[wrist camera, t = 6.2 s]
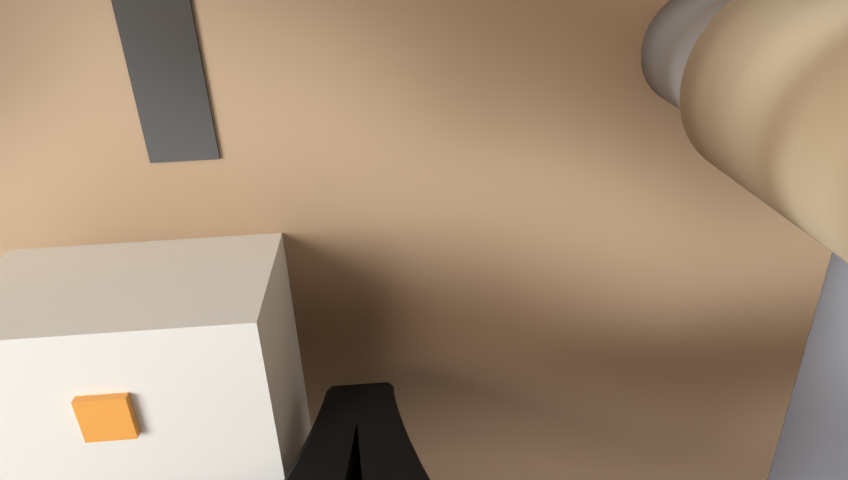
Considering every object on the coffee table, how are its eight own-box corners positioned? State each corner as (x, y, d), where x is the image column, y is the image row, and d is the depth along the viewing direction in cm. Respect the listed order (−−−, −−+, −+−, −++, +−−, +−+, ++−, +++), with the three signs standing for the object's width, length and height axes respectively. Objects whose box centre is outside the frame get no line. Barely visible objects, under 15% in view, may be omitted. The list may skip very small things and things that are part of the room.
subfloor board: (705, 566, 20) (730, 616, 18) (74, 623, 19) (49, 679, 18) (898, -224, 11) (976, -245, 9) (-291, -189, 10) (-401, -206, 8)
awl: (760, 122, 12) (1265, 390, 5) (610, 130, 12) (929, 418, 5) (794, -45, 11) (1524, 23, 4) (627, -38, 10) (1084, 46, 4)
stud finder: (326, 526, 16) (315, 659, 13) (116, 544, 15) (60, 683, 13) (282, 232, 12) (255, 328, 9) (8, 249, 12) (-104, 353, 9)
